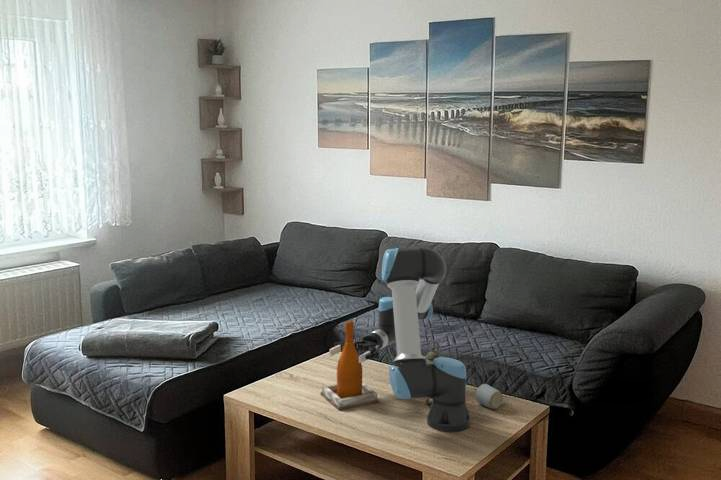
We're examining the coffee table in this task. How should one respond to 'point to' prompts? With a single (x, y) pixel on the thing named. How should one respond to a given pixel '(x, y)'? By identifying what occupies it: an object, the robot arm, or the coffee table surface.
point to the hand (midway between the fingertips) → (344, 356)
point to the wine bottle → (349, 367)
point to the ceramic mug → (489, 396)
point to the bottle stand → (350, 402)
